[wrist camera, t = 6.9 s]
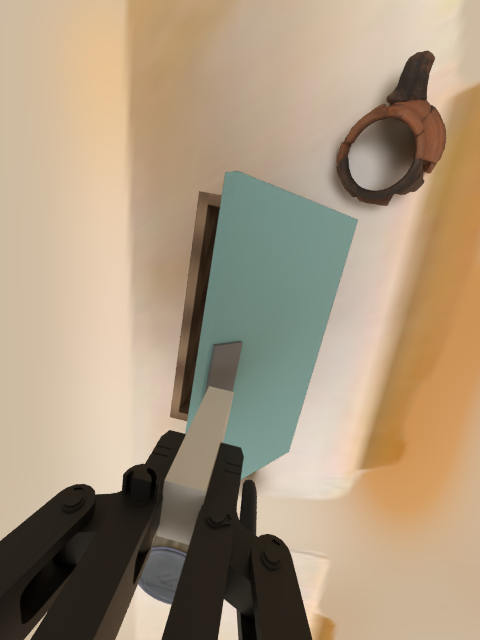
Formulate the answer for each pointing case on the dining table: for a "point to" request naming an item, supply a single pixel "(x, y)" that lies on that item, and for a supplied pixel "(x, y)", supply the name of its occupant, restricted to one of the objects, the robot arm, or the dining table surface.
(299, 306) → the lid
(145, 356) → the dining table surface
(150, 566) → the milk frother
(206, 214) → the storage box
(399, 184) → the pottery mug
